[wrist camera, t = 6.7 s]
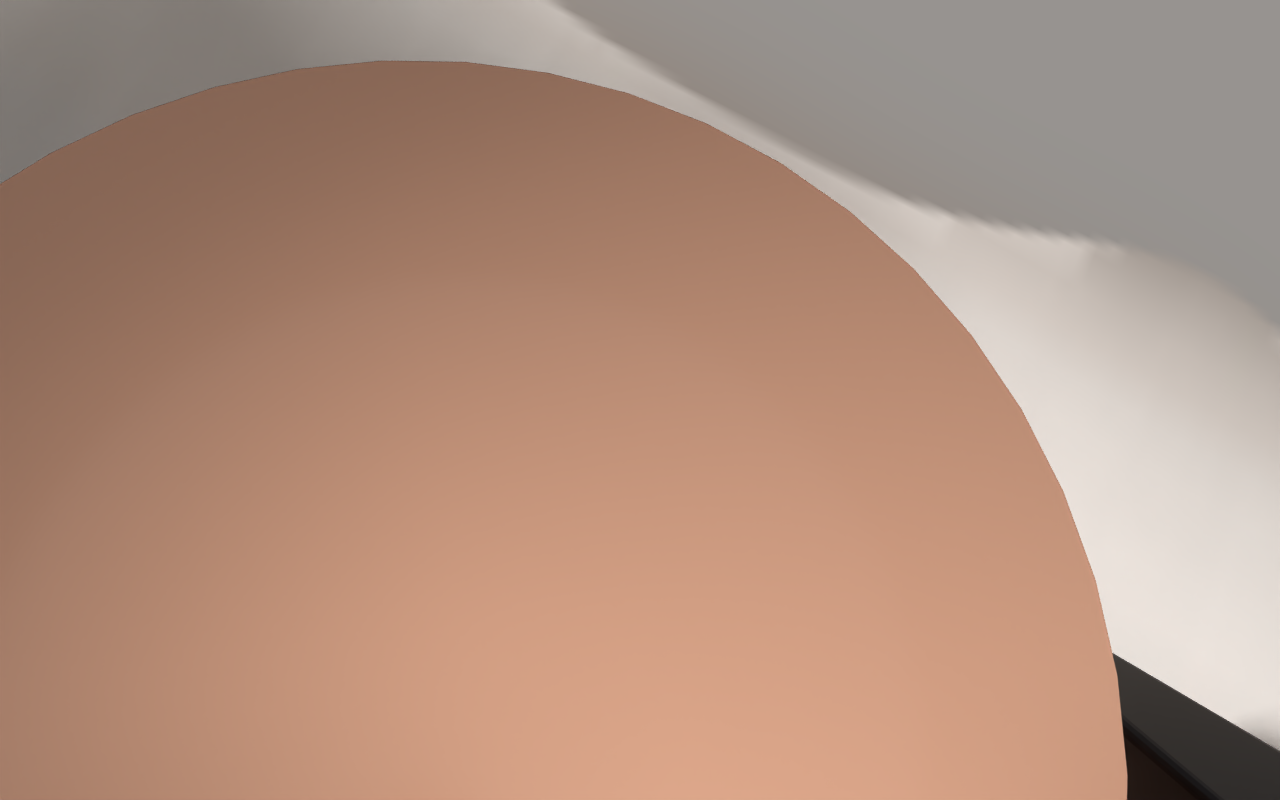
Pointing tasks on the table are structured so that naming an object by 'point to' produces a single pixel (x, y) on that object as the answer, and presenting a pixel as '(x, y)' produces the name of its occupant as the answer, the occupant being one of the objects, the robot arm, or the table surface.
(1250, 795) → the robot arm
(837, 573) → the salmon pink cylinder
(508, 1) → the table surface
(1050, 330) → the table surface
